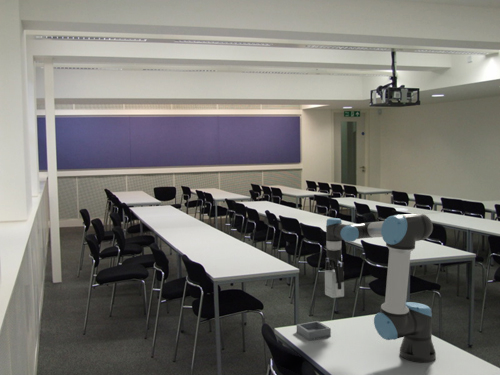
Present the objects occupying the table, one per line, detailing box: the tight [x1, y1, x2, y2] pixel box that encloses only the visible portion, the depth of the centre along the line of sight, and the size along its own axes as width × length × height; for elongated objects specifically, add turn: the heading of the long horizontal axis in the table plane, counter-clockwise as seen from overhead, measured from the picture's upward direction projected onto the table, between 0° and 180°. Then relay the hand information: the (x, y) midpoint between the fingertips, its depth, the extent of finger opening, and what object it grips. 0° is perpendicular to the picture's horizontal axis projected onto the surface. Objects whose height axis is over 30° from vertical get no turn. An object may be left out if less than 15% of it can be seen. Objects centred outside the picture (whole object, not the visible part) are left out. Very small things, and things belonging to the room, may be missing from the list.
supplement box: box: [324, 269, 345, 299], centre depth 250 cm, size 7×7×13 cm
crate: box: [296, 320, 332, 341], centre depth 246 cm, size 12×12×4 cm
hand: (334, 293), depth 251 cm, fingers closed on supplement box, 7 cm apart
